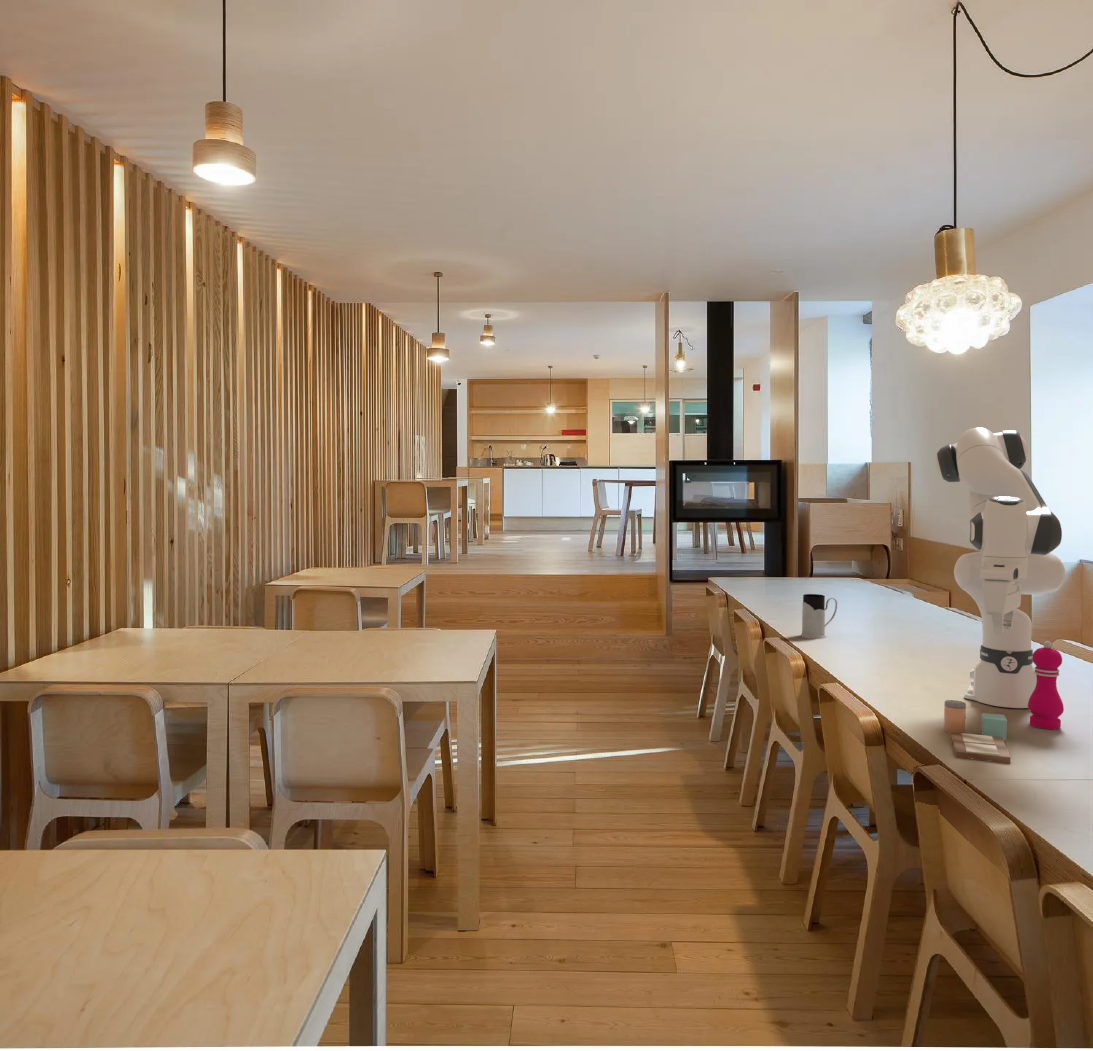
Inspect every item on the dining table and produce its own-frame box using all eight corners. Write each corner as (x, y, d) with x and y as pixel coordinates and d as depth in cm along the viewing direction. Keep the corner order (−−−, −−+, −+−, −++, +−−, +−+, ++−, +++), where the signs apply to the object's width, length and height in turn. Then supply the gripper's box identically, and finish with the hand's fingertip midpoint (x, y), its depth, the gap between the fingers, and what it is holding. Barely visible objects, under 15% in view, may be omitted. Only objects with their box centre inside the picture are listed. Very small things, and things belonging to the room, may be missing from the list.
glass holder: (795, 634, 309) (796, 594, 308) (828, 632, 313) (829, 592, 312) (810, 639, 300) (810, 597, 300) (843, 636, 305) (844, 595, 304)
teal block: (981, 732, 192) (982, 713, 192) (1003, 734, 190) (1004, 715, 190) (983, 738, 188) (984, 718, 188) (1006, 740, 186) (1007, 720, 186)
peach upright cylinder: (943, 728, 195) (943, 699, 194) (964, 730, 193) (965, 701, 193) (944, 733, 191) (945, 704, 190) (965, 735, 189) (966, 706, 189)
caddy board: (951, 737, 188) (951, 731, 188) (1001, 742, 184) (1001, 736, 184) (955, 757, 175) (956, 750, 175) (1010, 763, 171) (1010, 756, 171)
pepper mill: (1030, 719, 202) (1032, 636, 200) (1065, 724, 197) (1068, 640, 196) (1024, 726, 196) (1027, 641, 195) (1060, 732, 192) (1063, 645, 190)
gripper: (998, 565, 197) (997, 624, 197) (978, 571, 181) (977, 635, 182) (1029, 567, 193) (1027, 627, 193) (1011, 573, 177) (1009, 638, 178)
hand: (1003, 631), depth 187 cm, fingers open, 8 cm apart
